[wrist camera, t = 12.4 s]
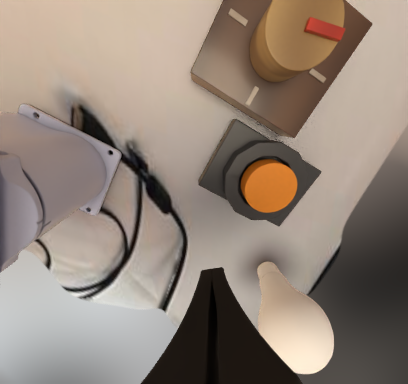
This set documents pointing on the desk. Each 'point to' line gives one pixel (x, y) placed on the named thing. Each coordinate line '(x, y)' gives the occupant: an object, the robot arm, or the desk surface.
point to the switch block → (241, 159)
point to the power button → (268, 185)
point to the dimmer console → (257, 86)
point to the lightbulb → (293, 323)
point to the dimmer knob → (295, 37)
